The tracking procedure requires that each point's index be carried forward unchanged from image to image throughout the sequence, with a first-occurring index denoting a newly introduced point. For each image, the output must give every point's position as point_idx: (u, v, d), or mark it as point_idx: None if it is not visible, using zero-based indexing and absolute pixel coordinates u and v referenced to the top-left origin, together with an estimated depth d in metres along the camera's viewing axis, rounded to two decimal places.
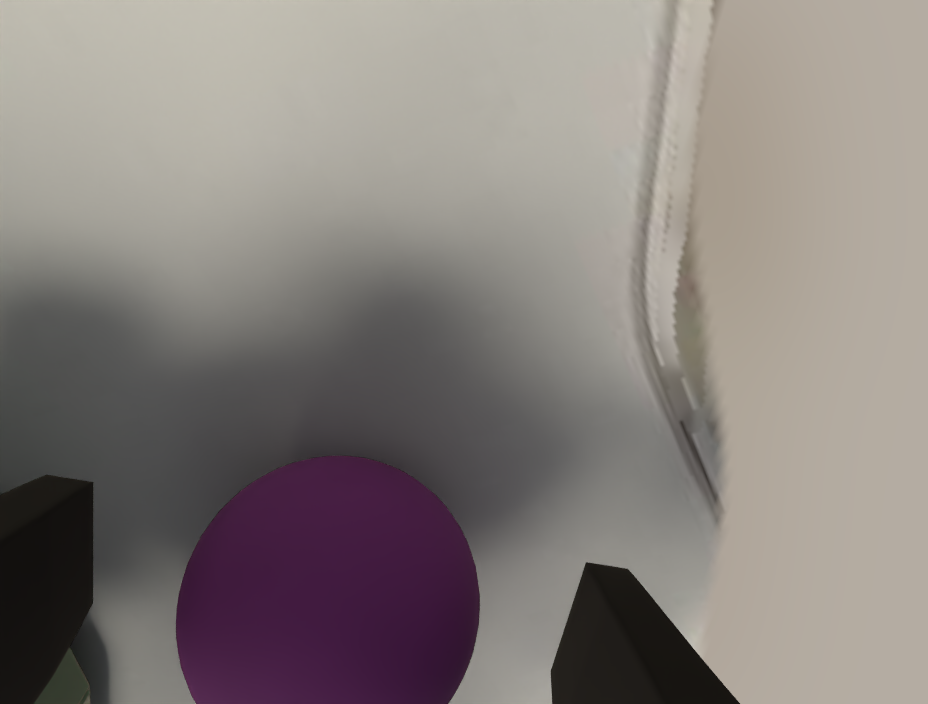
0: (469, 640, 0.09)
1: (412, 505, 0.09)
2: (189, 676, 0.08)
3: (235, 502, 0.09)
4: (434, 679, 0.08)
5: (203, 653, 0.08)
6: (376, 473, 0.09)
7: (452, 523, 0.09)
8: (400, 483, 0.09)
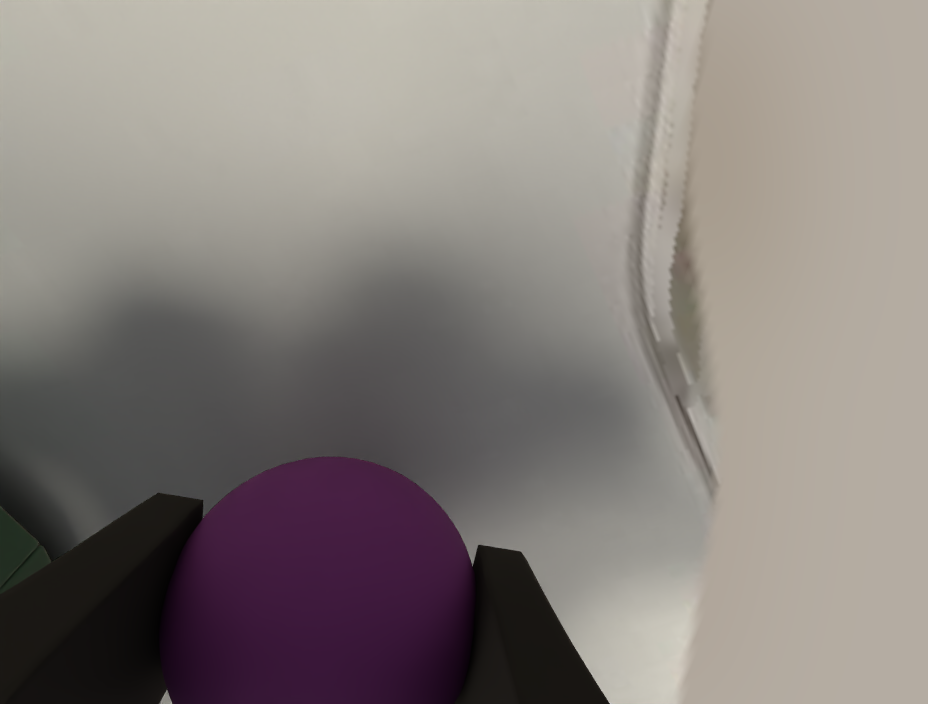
0: (467, 651, 0.08)
1: (408, 509, 0.08)
2: (172, 690, 0.08)
3: (221, 506, 0.08)
4: (429, 694, 0.08)
5: (186, 667, 0.07)
6: (370, 475, 0.09)
7: (450, 528, 0.09)
8: (395, 486, 0.08)
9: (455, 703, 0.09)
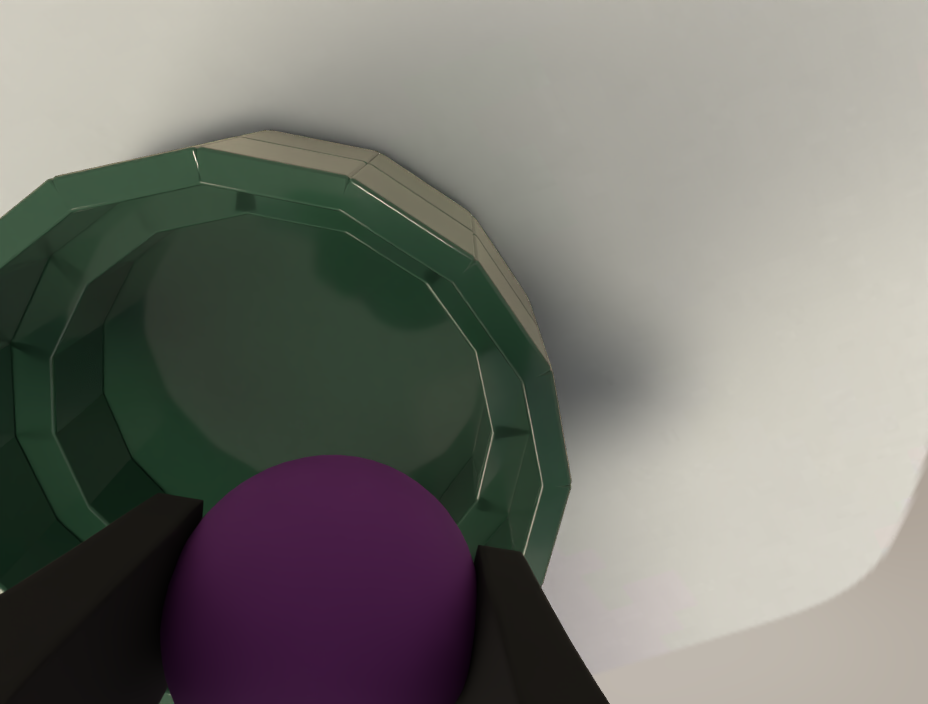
0: (469, 649, 0.08)
1: (409, 508, 0.08)
2: (173, 689, 0.08)
3: (222, 504, 0.08)
4: (432, 693, 0.08)
5: (187, 665, 0.07)
6: (371, 473, 0.08)
7: (451, 526, 0.09)
8: (397, 484, 0.08)
9: (455, 703, 0.09)
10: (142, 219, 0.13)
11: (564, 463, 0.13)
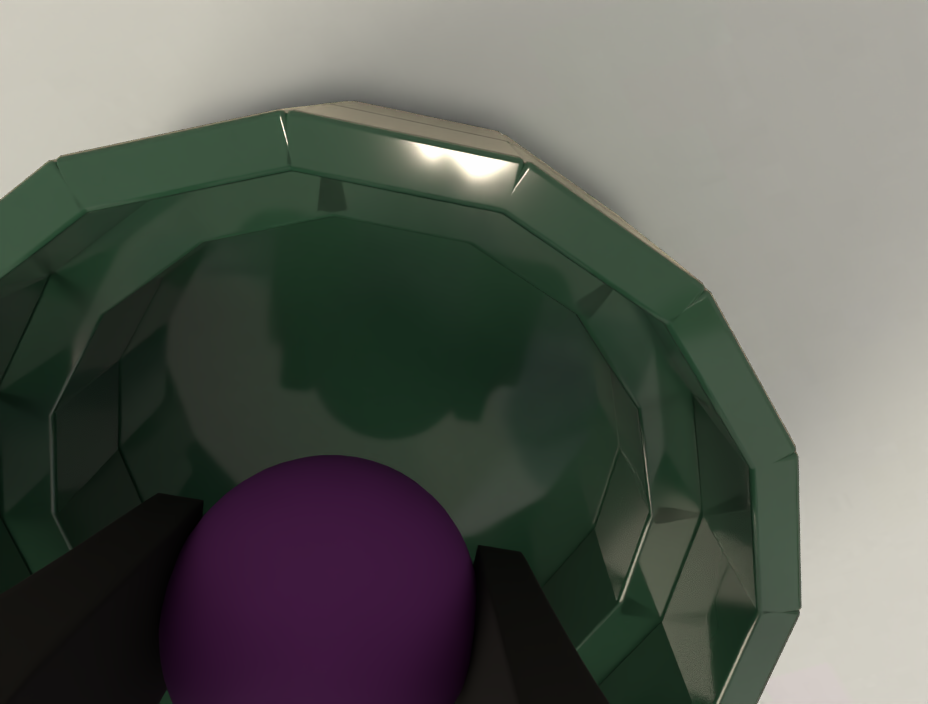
0: (468, 650, 0.08)
1: (409, 508, 0.08)
2: (171, 689, 0.08)
3: (221, 505, 0.08)
4: (430, 693, 0.08)
5: (186, 666, 0.07)
6: (370, 474, 0.08)
7: (450, 526, 0.09)
8: (395, 484, 0.08)
9: (455, 703, 0.09)
10: (182, 224, 0.09)
11: (796, 581, 0.09)
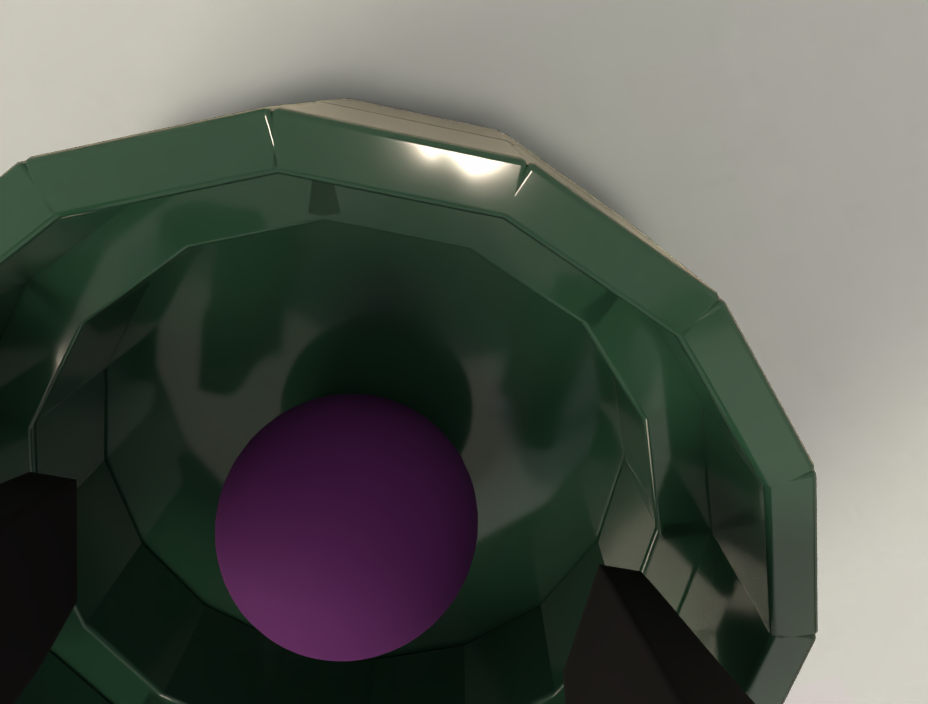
0: (469, 547, 0.10)
1: (420, 431, 0.10)
2: (229, 574, 0.09)
3: (265, 430, 0.10)
4: (439, 575, 0.09)
5: (242, 551, 0.09)
6: (387, 405, 0.10)
7: (454, 450, 0.10)
8: (408, 414, 0.10)
9: None
10: (166, 227, 0.09)
11: (812, 604, 0.08)
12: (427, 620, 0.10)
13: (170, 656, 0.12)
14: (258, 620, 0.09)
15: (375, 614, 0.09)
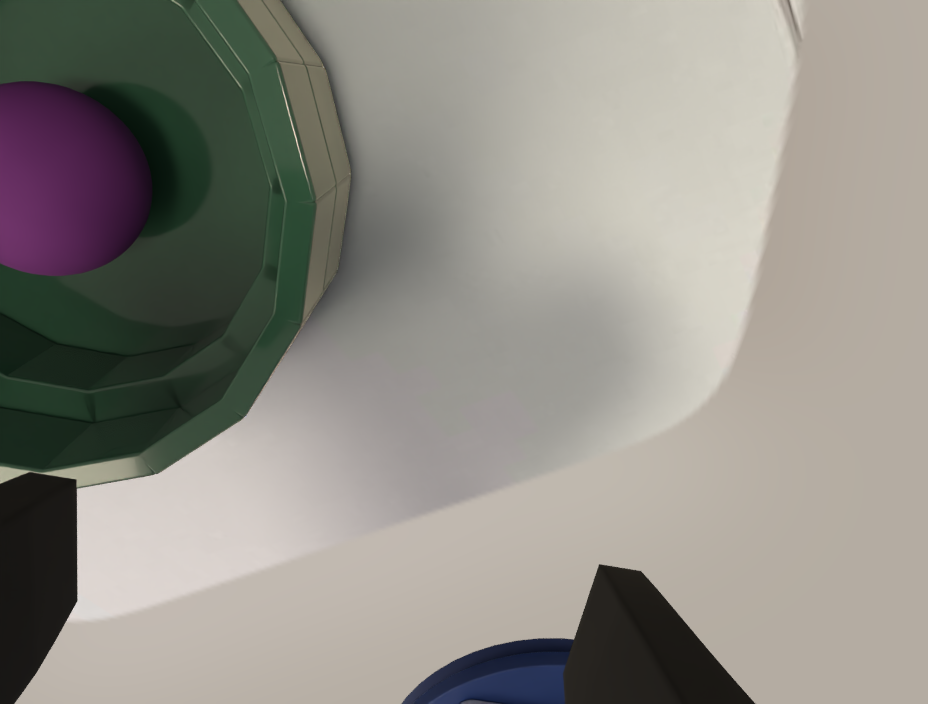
0: (121, 184, 0.14)
1: (85, 100, 0.14)
2: None
3: None
4: (84, 185, 0.13)
5: None
6: (68, 88, 0.14)
7: (121, 125, 0.14)
8: (83, 94, 0.14)
9: None
10: None
11: (305, 174, 0.12)
12: (83, 226, 0.14)
13: None
14: None
15: (28, 201, 0.13)
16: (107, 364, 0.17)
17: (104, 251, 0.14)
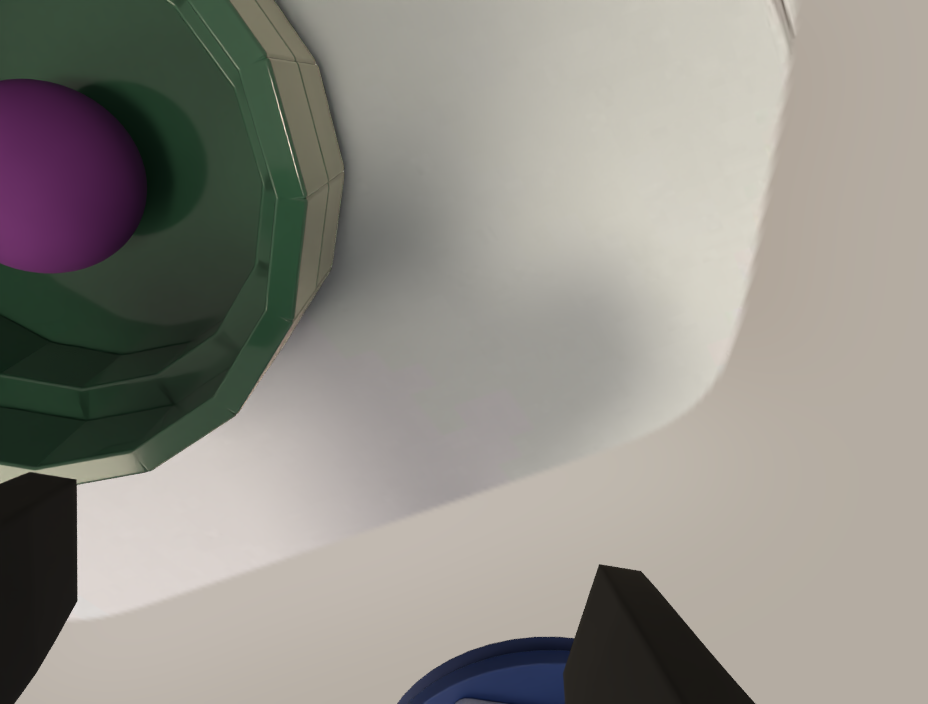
0: (117, 181, 0.14)
1: (80, 97, 0.14)
2: None
3: None
4: (80, 183, 0.13)
5: None
6: (63, 86, 0.14)
7: (116, 123, 0.14)
8: (78, 92, 0.14)
9: None
10: None
11: (296, 170, 0.12)
12: (78, 222, 0.14)
13: None
14: None
15: (24, 197, 0.13)
16: (101, 362, 0.17)
17: (100, 248, 0.14)
